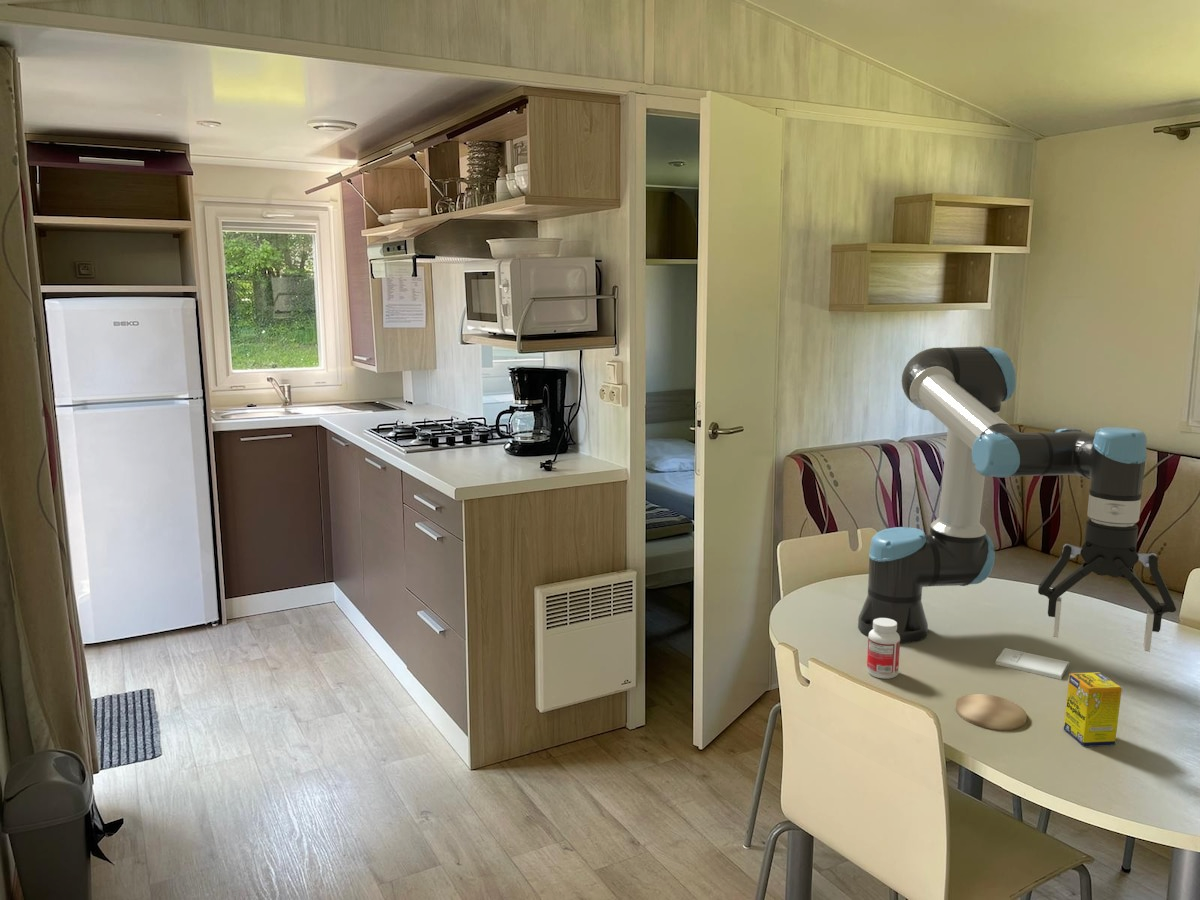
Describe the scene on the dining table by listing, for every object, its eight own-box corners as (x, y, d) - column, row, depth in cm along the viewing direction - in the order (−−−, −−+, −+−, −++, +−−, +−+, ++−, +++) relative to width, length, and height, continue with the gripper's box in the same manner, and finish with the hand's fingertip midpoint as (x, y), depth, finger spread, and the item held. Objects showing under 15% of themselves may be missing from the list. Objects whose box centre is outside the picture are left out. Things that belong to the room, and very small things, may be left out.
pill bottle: (882, 664, 186) (885, 614, 184) (904, 675, 181) (907, 624, 179) (860, 670, 184) (862, 619, 182) (881, 682, 178) (884, 629, 176)
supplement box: (1062, 730, 159) (1068, 672, 157) (1094, 728, 160) (1100, 671, 158) (1082, 747, 153) (1089, 688, 151) (1116, 745, 154) (1122, 686, 152)
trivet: (952, 720, 163) (952, 715, 162) (959, 694, 173) (959, 689, 173) (1024, 735, 157) (1025, 730, 157) (1027, 707, 168) (1027, 702, 167)
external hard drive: (1060, 682, 179) (995, 666, 186) (1068, 668, 185) (1004, 653, 193) (1061, 674, 179) (995, 659, 186) (1069, 661, 185) (1005, 646, 192)
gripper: (1028, 517, 151) (1018, 636, 155) (1204, 535, 140) (1189, 663, 144) (1030, 508, 158) (1020, 622, 161) (1198, 524, 146) (1184, 646, 150)
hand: (1100, 641), depth 152 cm, fingers open, 13 cm apart
